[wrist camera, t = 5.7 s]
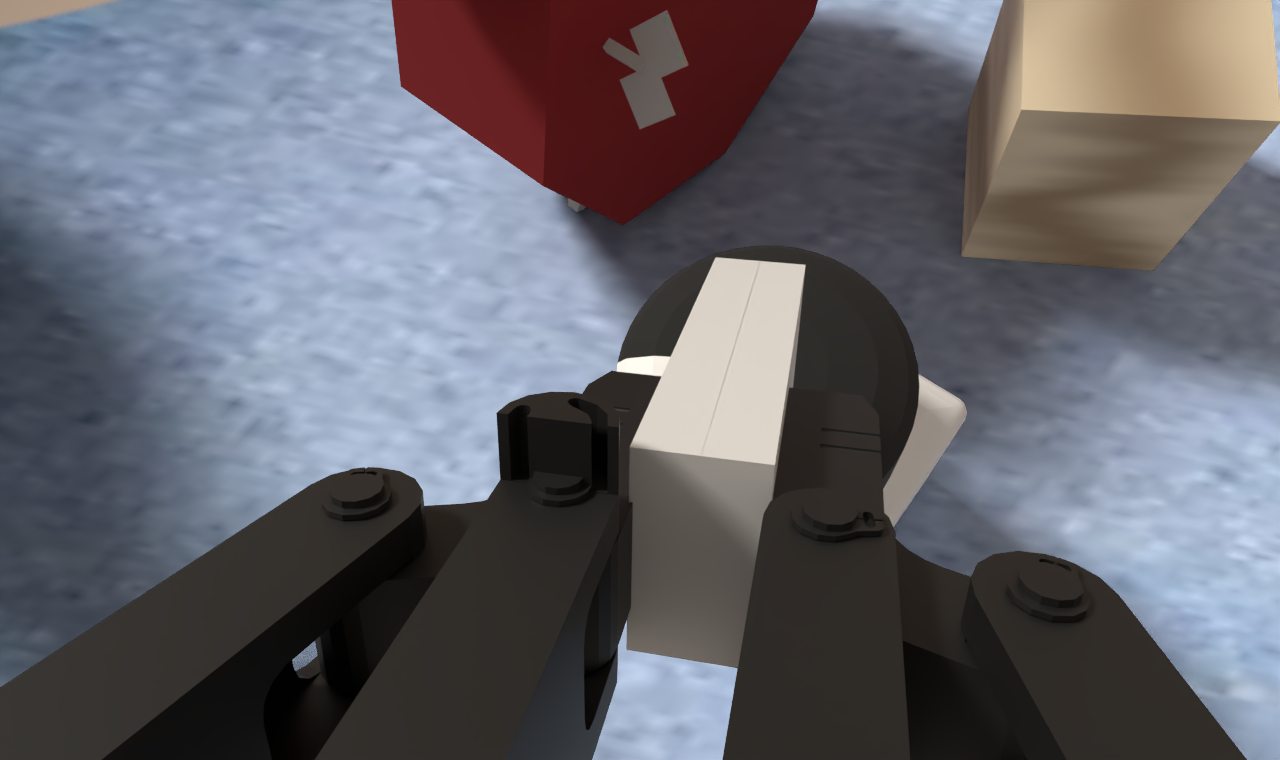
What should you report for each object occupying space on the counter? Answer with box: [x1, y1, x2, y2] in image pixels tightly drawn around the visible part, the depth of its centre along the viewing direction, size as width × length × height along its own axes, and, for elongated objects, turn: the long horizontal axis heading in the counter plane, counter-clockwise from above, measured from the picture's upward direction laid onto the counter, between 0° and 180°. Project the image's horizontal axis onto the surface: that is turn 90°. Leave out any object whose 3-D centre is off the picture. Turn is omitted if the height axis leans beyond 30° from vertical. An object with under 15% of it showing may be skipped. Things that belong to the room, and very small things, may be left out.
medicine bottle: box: [617, 246, 967, 527], centre depth 23 cm, size 7×7×12 cm
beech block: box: [961, 0, 1280, 271], centre depth 27 cm, size 6×6×8 cm
